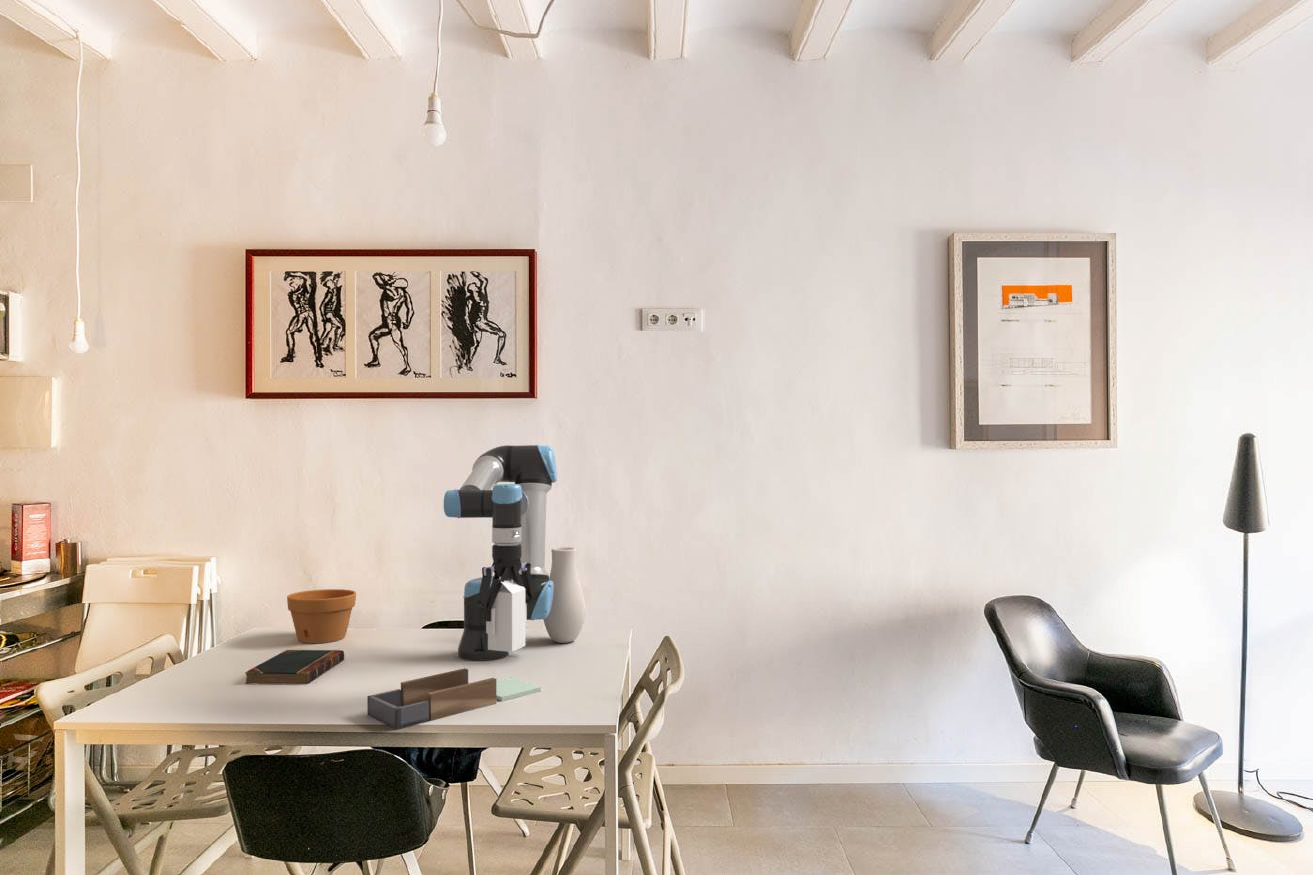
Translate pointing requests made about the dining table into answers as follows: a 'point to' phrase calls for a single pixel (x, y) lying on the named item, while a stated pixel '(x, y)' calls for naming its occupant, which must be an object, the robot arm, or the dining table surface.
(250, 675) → the book
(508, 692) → the pad
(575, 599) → the vase
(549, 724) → the dining table surface
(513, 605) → the milk carton
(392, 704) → the bin
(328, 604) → the flower pot
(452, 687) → the channel
